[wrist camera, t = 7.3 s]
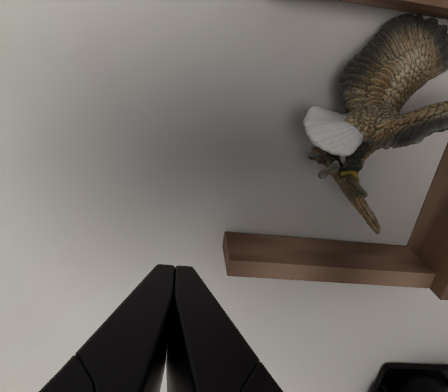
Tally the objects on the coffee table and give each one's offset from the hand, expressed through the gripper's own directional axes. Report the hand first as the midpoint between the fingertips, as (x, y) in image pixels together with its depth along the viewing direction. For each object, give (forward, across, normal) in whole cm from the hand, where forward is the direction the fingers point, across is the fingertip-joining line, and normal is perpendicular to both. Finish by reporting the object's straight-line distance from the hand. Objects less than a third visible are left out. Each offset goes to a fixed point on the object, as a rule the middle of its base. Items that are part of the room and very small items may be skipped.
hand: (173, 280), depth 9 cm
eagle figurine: (+12, -10, -3) cm, 16 cm away
